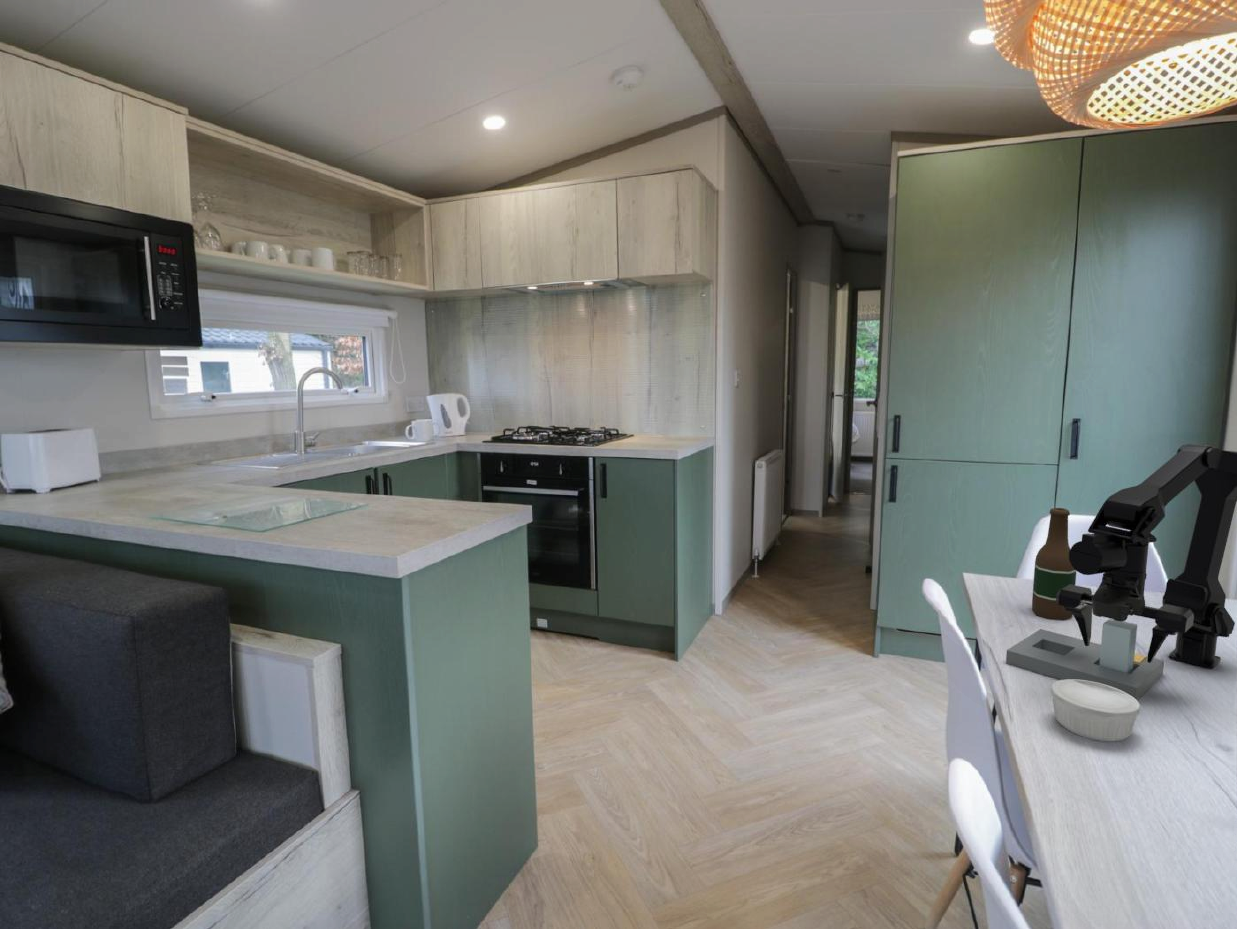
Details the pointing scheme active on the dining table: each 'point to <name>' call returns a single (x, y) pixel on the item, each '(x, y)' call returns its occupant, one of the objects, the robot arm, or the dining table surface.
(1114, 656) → the plug
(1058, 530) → the beer bottle
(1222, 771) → the dining table surface
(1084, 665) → the socket panel
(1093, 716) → the ramekin
